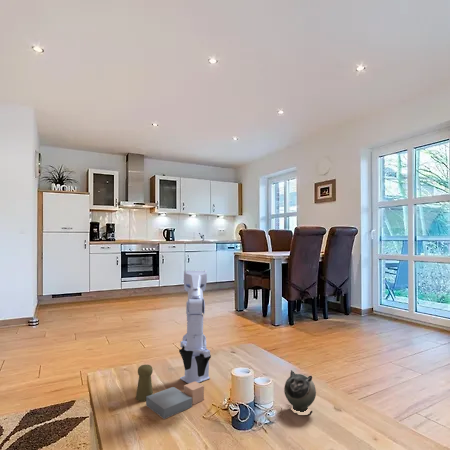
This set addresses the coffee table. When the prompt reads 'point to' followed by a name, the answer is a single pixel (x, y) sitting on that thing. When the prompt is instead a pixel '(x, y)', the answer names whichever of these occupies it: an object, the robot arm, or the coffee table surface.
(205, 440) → the coffee table surface
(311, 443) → the coffee table surface
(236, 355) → the coffee table surface
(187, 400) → the plate
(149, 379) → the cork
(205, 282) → the robot arm
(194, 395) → the tan cube
